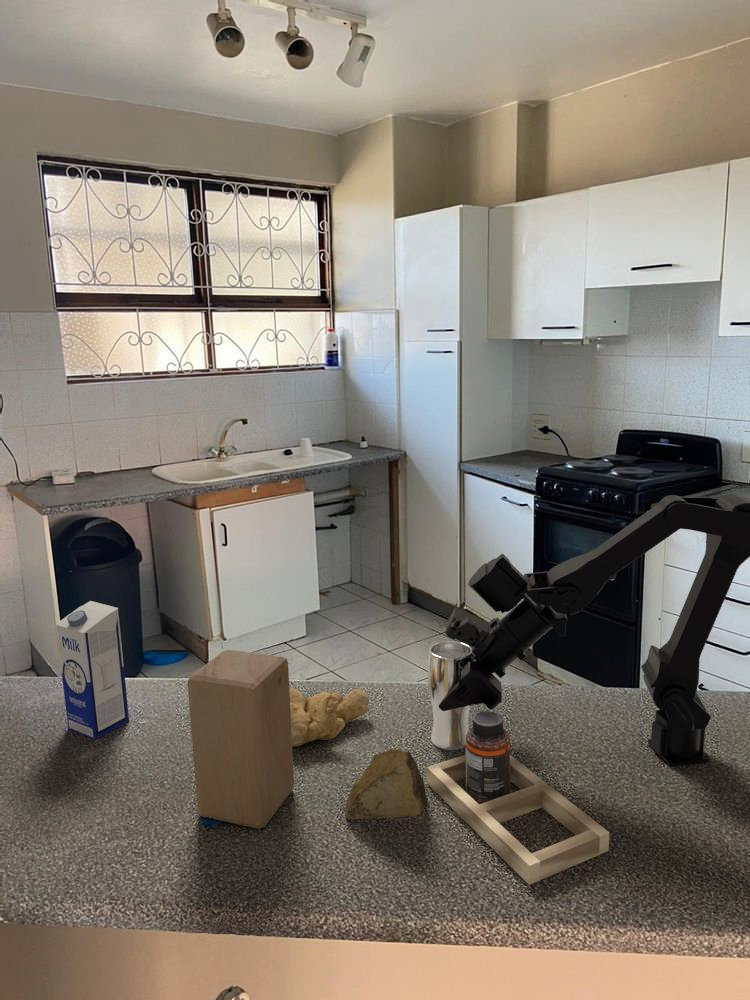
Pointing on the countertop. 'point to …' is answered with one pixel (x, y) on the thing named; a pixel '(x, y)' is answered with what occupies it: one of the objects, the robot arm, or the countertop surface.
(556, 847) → the divided wooden frame
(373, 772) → the rock
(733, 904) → the countertop surface
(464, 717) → the beer glass
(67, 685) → the milk carton
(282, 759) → the wooden block
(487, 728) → the supplement bottle
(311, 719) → the ginger root
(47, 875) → the countertop surface
